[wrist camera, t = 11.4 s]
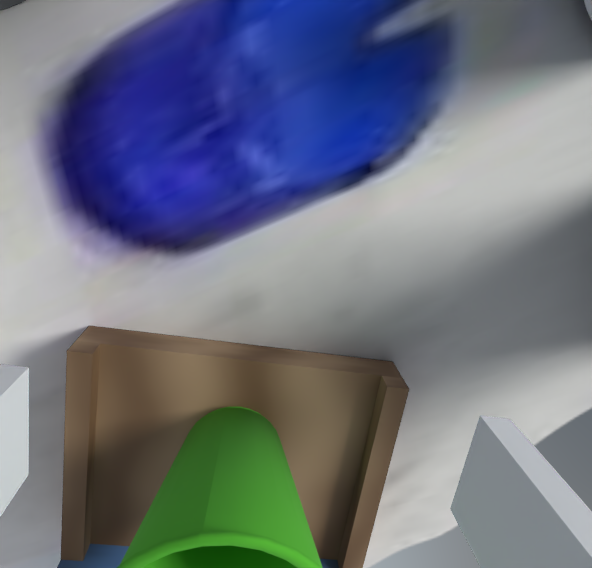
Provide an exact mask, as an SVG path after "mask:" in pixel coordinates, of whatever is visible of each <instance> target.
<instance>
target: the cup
mask: <svg viewBox="0 0 592 568" xmlns="http://www.w3.org/2000/svg"><path fill="white" fill-rule="evenodd" d="M117 568H323V567H322V564H321V561H320V558H319V555H318V552H317V549H316V546H315V543H314V540H313V537H312V534H311V531H310V528H309V525H308V522H307V519H306V516H305V513H304V510H303V507H302V504H301V501H300V498H299V495H298V492H297V489H296V486H295V483H294V480H293V477H292V474H291V471H290V468H289V465H288V462H287V459H286V456H285V453H284V450H283V447H282V444H281V441H280V438H279V436H278V433H277V431H276V429H275V428H274V426H273V425H272V424H271V423H270V421H268V420H267V419H266V418H265V417H263V416H262V415H261V414H260V413H258V412H256V411H253V410H251V409H248V408H244V407H224V408H220V409H217V410H215V411H212V412H210V413H208V414H207V415H205V416H204V417H203V418H201V419H200V420H199V421H197V422H196V423H195V425H194V426H193V427H192V429H191V430H190V431H189V433H188V435H187V437H186V439H185V441H184V443H183V445H182V447H181V449H180V451H179V452H178V454H177V456H176V458H175V460H174V462H173V464H172V466H171V468H170V470H169V472H168V473H167V475H166V477H165V479H164V481H163V483H162V485H161V487H160V489H159V491H158V493H157V494H156V496H155V498H154V500H153V502H152V504H151V506H150V508H149V510H148V512H147V514H146V516H145V517H144V519H143V521H142V523H141V525H140V527H139V529H138V531H137V533H136V535H135V537H134V538H133V540H132V542H131V544H130V546H129V548H128V550H127V552H126V554H125V556H124V558H123V559H122V561H121V563H120V565H119V566H118V567H117Z"/></svg>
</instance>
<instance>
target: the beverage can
mask: <svg viewBox="0 0 592 568" xmlns="http://www.w3.org/2000/svg"><path fill="white" fill-rule="evenodd" d="M584 3H585V6H586V9H587V12H588V15H589V17H590V19H591V21H592V0H584Z"/></svg>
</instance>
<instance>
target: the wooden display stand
mask: <svg viewBox="0 0 592 568" xmlns="http://www.w3.org/2000/svg"><path fill="white" fill-rule="evenodd" d="M408 392H409V388H408V386H407V385H406V383H405V381H404V380H403V378H402V376H401V375H400V373H399V371H398V370H397V368H396V366H395V365H394V363H393V362H391V361H383V360H374V359H366V358H357V357H349V356H340V355H332V354H323V353H315V352H307V351H298V350H290V349H281V348H273V347H264V346H256V345H248V344H239V343H231V342H222V341H214V340H205V339H197V338H188V337H180V336H172V335H163V334H155V333H146V332H138V331H129V330H121V329H113V328H104V327H96V326H88V328H87V329H86V330H85V331H84V332H83V333H82V334H81V336H80V337H79V338H78V339H77V340H76V341H75V342H74V343H73V345H72V346H71V347H70V348H69V349H68V350H67V365H66V399H65V434H64V469H63V504H62V538H61V561H60V563H59V565H58V567H57V568H117V567H118V566H119V565H120V563H121V561H122V559H123V558H124V556H125V554H126V552H127V550H128V548H129V546H130V544H131V542H132V540H133V538H134V537H135V535H136V533H137V531H138V529H139V527H140V525H141V523H142V521H143V519H144V517H145V516H146V514H147V512H148V510H149V508H150V506H151V504H152V502H153V500H154V498H155V496H156V494H157V493H158V491H159V489H160V487H161V485H162V483H163V481H164V479H165V477H166V475H167V473H168V472H169V470H170V468H171V466H172V464H173V462H174V460H175V458H176V456H177V454H178V452H179V451H180V449H181V447H182V445H183V443H184V441H185V439H186V437H187V435H188V433H189V431H190V430H191V429H192V427H193V426H194V425H195V423H196V422H197V421H199V420H200V419H201V418H203V417H204V416H205V415H207V414H208V413H210V412H212V411H215V410H217V409H220V408H224V407H244V408H248V409H251V410H253V411H256V412H258V413H260V414H261V415H262V416H263V417H265V418H266V419H267V420H268V421H270V423H271V424H272V425H273V426H274V428H275V429H276V431H277V433H278V436H279V438H280V441H281V444H282V447H283V450H284V453H285V456H286V459H287V462H288V465H289V468H290V471H291V474H292V477H293V480H294V483H295V486H296V489H297V492H298V495H299V498H300V501H301V504H302V507H303V510H304V513H305V516H306V519H307V522H308V525H309V528H310V531H311V534H312V537H313V540H314V543H315V546H316V549H317V552H318V555H319V558H320V561H321V564H322V567H323V568H362V567H363V564H364V560H365V556H366V552H367V548H368V545H369V541H370V537H371V533H372V529H373V525H374V522H375V518H376V514H377V510H378V506H379V503H380V499H381V495H382V491H383V487H384V483H385V480H386V476H387V472H388V468H389V464H390V461H391V457H392V453H393V449H394V445H395V441H396V438H397V434H398V430H399V426H400V422H401V418H402V415H403V411H404V407H405V403H406V399H407V396H408Z"/></svg>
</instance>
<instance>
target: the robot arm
mask: <svg viewBox="0 0 592 568" xmlns="http://www.w3.org/2000/svg"><path fill="white" fill-rule="evenodd" d="M24 1H26V0H0V10H1V9H5V8H9V7H11V6H14V5H17V4H19V3H22V2H24ZM28 475H29V367H22V366H13V365H4V364H0V517H1V515H2V514H3V512H4V511H5V509H6V508H7V506H8V505H9V503H10V502H11V500H12V499H13V497H14V496H15V494H16V493H17V491H18V490H19V488H20V487H21V485H22V484H23V482H24V481H25V479H26V478H27V476H28ZM451 511H452V513H453V515H454V517H455V519H456V521H457V523H458V525H459V527H460V529H461V531H462V533H463V534H464V536H465V538H466V540H467V542H468V544H469V546H470V548H471V550H472V552H473V554H474V556H475V558H476V560H477V562H478V564H479V566H480V568H592V511H591V510H590V509H589V508H588V507H587V506H586V504H585V503H584V502H583V501H582V500H581V499H580V498H579V497H578V496H577V494H576V493H575V492H574V491H573V490H572V489H571V487H570V486H569V485H568V484H567V483H566V482H565V481H564V479H563V478H562V477H561V476H560V475H559V474H558V473H557V472H556V471H555V469H554V468H553V467H552V466H551V465H550V464H549V462H548V461H547V460H546V459H545V458H544V457H543V456H542V455H541V453H540V452H539V451H538V450H537V449H536V448H535V447H534V445H533V444H532V443H531V442H530V441H529V440H528V439H527V438H526V436H525V435H524V434H523V433H522V432H521V431H520V430H519V428H518V427H517V426H516V425H515V424H514V423H513V422H512V420H511V419H508V418H498V417H489V416H480V418H479V421H478V424H477V427H476V430H475V433H474V436H473V440H472V443H471V446H470V449H469V452H468V455H467V458H466V461H465V465H464V468H463V471H462V474H461V477H460V480H459V483H458V487H457V490H456V493H455V496H454V499H453V502H452V505H451Z"/></svg>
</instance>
